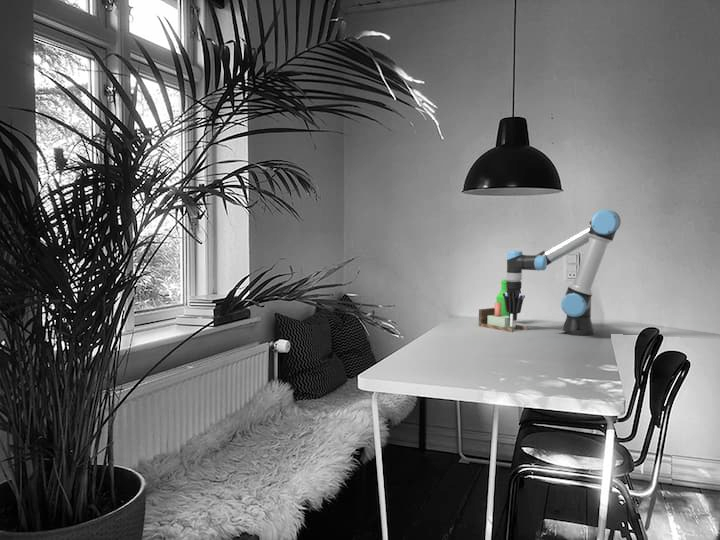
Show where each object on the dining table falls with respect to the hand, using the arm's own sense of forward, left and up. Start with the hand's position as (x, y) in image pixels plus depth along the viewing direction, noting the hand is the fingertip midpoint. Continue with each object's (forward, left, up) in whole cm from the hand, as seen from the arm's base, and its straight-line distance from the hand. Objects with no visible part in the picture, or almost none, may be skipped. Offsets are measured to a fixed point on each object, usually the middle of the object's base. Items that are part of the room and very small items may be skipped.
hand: (512, 326), depth 329 cm
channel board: (+7, 0, -3) cm, 8 cm away
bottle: (+19, -15, -3) cm, 25 cm away
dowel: (+11, 0, -1) cm, 11 cm away
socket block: (+8, 0, -2) cm, 8 cm away
